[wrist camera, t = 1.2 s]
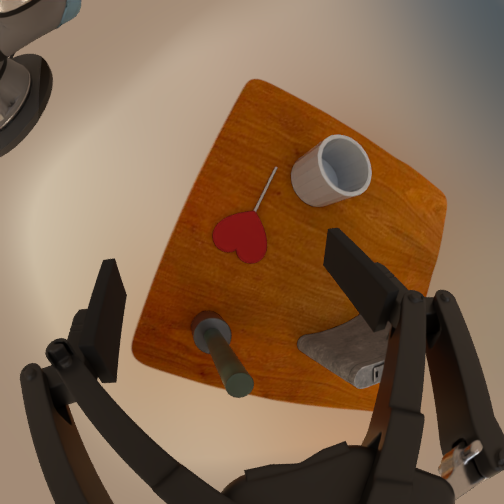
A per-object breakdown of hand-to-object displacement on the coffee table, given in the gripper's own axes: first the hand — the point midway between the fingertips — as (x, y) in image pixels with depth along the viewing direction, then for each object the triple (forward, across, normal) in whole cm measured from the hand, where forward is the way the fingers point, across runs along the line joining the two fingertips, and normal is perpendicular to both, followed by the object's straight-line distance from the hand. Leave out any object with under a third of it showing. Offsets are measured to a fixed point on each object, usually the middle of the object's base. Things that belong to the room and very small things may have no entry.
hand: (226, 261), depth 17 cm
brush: (+14, -2, -20) cm, 25 cm away
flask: (+13, +18, -26) cm, 35 cm away
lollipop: (+24, +8, -8) cm, 26 cm away
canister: (+26, +18, -4) cm, 32 cm away
